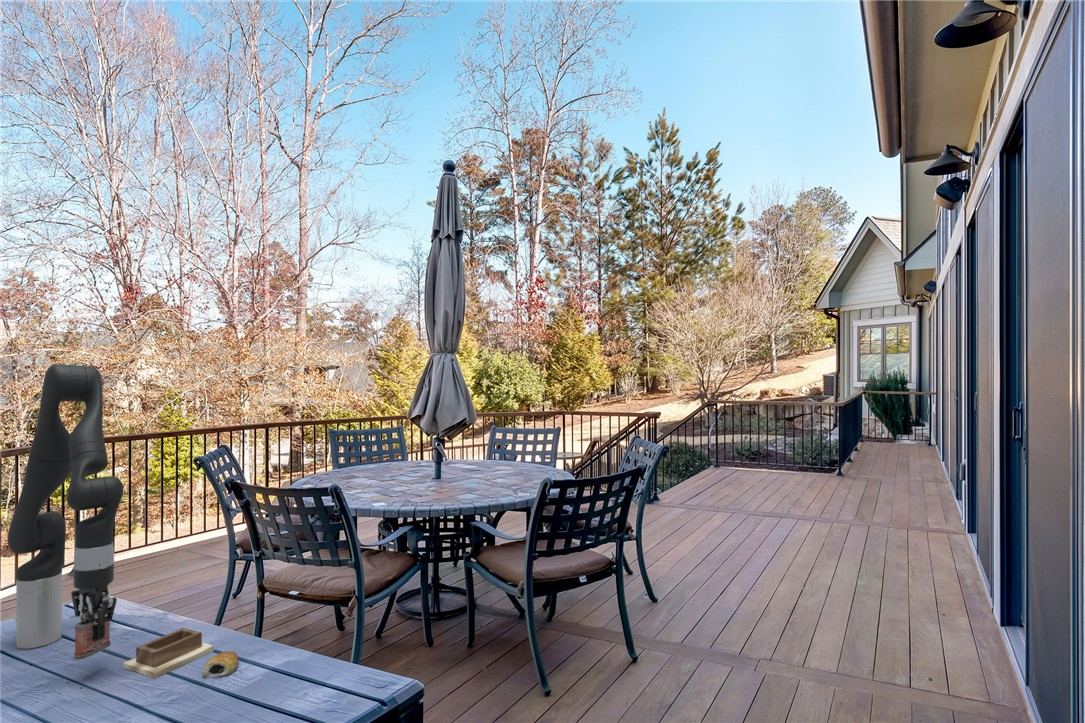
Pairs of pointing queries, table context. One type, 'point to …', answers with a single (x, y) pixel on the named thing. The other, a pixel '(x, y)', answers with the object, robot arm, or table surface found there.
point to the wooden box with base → (168, 653)
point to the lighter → (89, 637)
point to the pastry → (220, 664)
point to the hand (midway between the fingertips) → (93, 637)
